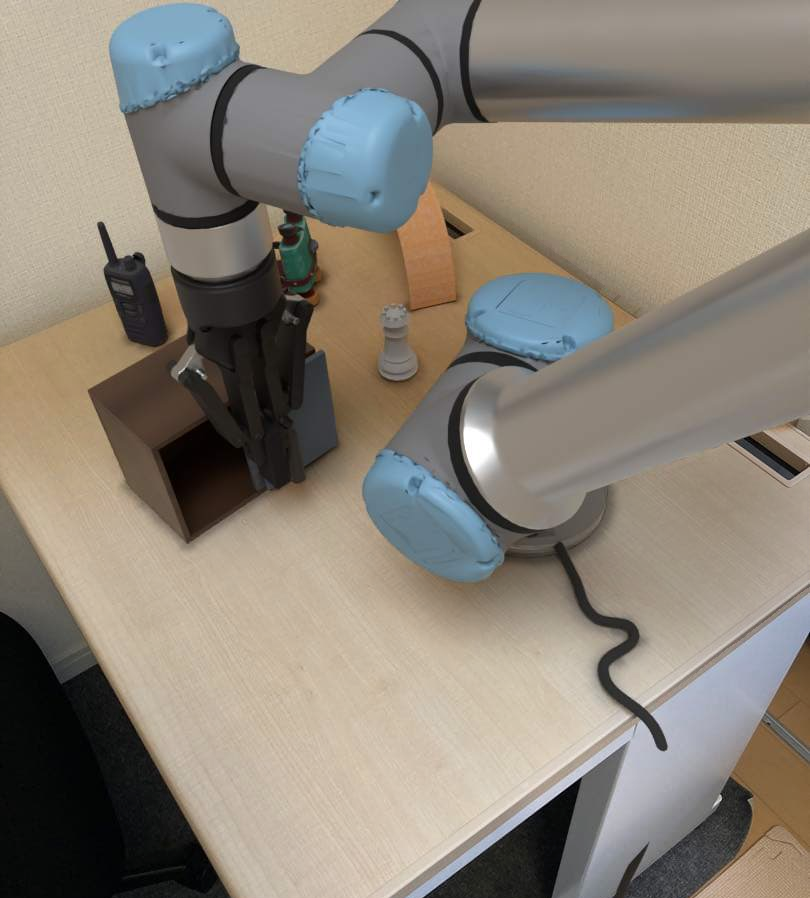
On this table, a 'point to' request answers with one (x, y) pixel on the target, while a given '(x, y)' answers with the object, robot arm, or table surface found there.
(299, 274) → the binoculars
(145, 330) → the two-way radio
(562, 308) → the robot arm
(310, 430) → the sliding door
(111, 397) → the cabinet
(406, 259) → the orange arch bridge
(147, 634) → the table surface
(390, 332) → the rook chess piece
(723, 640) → the table surface
